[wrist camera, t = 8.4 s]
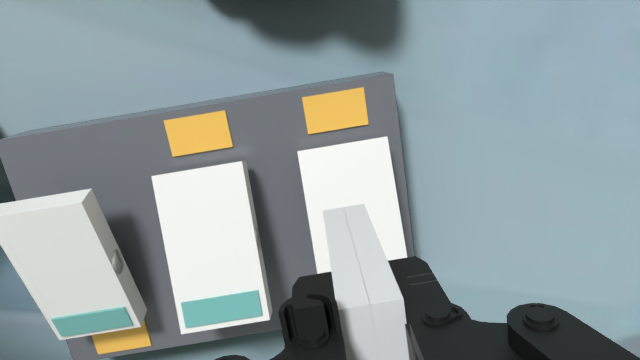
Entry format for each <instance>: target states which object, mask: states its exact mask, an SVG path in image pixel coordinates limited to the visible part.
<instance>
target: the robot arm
mask: <svg viewBox="0 0 640 360" xmlns="http://www.w3.org/2000/svg"><path fill="white" fill-rule="evenodd" d="M323 216H324V223H325V230H326V237H327V244H328V251H329V259H330V266H331V272H325V273H319V274H314V275H308V276H302V277H299V278H298V279H297V281H296V282H295V283H294V285H293V286H292V297H291V298H289V299H288V300H286V301H285V302H284V303H283V304H282V305H281V306H280V309H279V311H278V314H279V319H280V323H281V328H282V333H283V337H284V342H285V349H284V350H283V351H282V352H281V353H280V354H278V355H277V356H275V357H274V358H272V359H270V360H640V358H638V357H637V356H635V355H634V354H632V353H631V352H629V351H627V350H626V349H624V348H623V347H621V346H620V345H618V344H616V343H615V342H613V341H612V340H610V339H609V338H607V337H605V336H604V335H602V334H601V333H599V332H598V331H596V330H594V329H593V328H591V327H590V326H588V325H587V324H585V323H583V322H582V321H580V320H579V319H577V318H576V317H574V316H572V315H571V314H569V313H568V312H566V311H564V310H562V309H560V308H558V307H555V306H551V305H546V304H541V303H537V304H535V303H530V304H524V305H519V306H517V307H515V308H513V309H512V310H510V312H509V313H508V315H507V323H488V322H479V321H475V320H471V318H470V317H469V315H468V314H467V312H466V311H465V310H464V309H462V308H461V307H459V306H457V305H455V304H452V303H451V302H450V301H449V299H448V297H447V296H446V294H445V292H444V291H443V289H442V287H441V286H440V284H439V282H438V281H437V279H436V277H435V276H434V274H433V273H432V271H431V269H430V267H429V266H428V264H427V263H426V262H425V261H423V260H421V259H419V258H418V257H416V256H413V257H407V258H401V259H395V260H389V261H388V260H387V258H386V255H385V253H384V251H383V248H382V246H381V243H380V241H379V239H378V236H377V234H376V231H375V229H374V227H373V224H372V222H371V219H370V217H369V215H368V212H367V210H366V207H365V205H364V204H359V205H353V206H347V207H341V208H335V209H329V210H323ZM215 360H249V359H248V358H246V357H245V356H239V355H230V356H223V357H220V358H217V359H215Z"/></svg>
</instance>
